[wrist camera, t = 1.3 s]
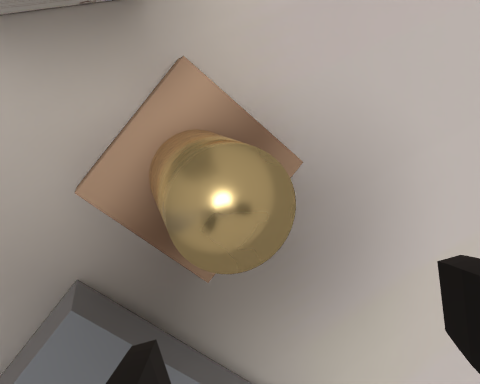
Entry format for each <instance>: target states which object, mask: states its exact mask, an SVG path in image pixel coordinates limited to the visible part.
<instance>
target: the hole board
mask: <svg viewBox="0 0 480 384" xmlns="http://www.w3.org/2000/svg"><path fill="white" fill-rule="evenodd" d="M155 339H156V340H157V343H158V346H159V349H160V352H161V355H162V358H163V361H164V364H165V367H166V369H167V372H168V375H169V378H170V381H171V384H251V383H250V382H248V381H246V380H245V379H243V378H241V377H240V376H238V375H236V374H235V373H233V372H231V371H230V370H228V369H226V368H225V367H223V366H221V365H219V364H218V363H216V362H214V361H213V360H211V359H209V358H208V357H206V356H204V355H203V354H201V353H199V352H198V351H196V350H194V349H193V348H191V347H189V346H188V345H186V344H184V343H182V342H181V341H179V340H177V339H176V338H174V337H172V336H171V335H169V334H167V333H166V332H164V331H162V330H161V329H159V328H157V327H156V326H154V325H152V324H151V323H149V322H147V321H146V320H144V319H142V318H140V317H139V316H137V315H135V314H134V313H132V312H130V311H129V310H127V309H125V308H124V307H122V306H120V305H119V304H117V303H115V302H114V301H112V300H110V299H109V298H107V297H105V296H104V295H102V294H100V293H98V292H97V291H95V290H93V289H92V288H90V287H88V286H87V285H85V284H83V283H82V282H80V281H78V280H76V282H75V283H74V284H73V286H72V287H71V288H70V289H69V291H68V292H67V293H66V294H65V296H64V297H63V298H62V299H61V301H60V302H59V303H58V304H57V306H56V307H55V308H54V310H53V311H52V312H51V313H50V315H49V316H48V317H47V318H46V320H45V321H44V322H43V323H42V325H41V326H40V327H39V329H38V330H37V331H36V332H35V334H34V335H33V336H32V337H31V339H30V340H29V341H28V342H27V344H26V345H25V346H24V347H23V349H22V350H21V351H20V353H19V354H18V355H17V356H16V358H15V359H14V360H13V361H12V363H11V364H10V365H9V366H8V368H7V369H6V370H5V372H4V373H3V374H2V375H1V377H0V384H106V382H107V381H108V380H109V378H110V377H111V375H112V374H113V372H114V371H115V369H116V368H117V366H118V365H119V363H120V362H121V360H122V359H123V357H124V356H125V355H126V353H127V352H128V350H129V349H130V348H131V346H134V345H137V344H141V343H145V342H148V341H152V340H155Z"/></svg>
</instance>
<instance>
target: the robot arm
mask: <svg viewBox="0 0 480 384" xmlns="http://www.w3.org/2000/svg"><path fill="white" fill-rule="evenodd" d="M437 262H438V270H439V279H440V287H441V296H442V305H443V313H444V322H445V331H446V332H447V334H448V335H449V336H450V338H451V339H452V340H453V342H454V343H455V344H456V346H457V347H458V349H459V350H460V351H461V352H462V354H463V355H464V356H465V358H466V359H467V360H468V361H469V363H470V364H471V365H472V366H473V367H474V368H475V369H476V370H477V371H478V373H479V374H480V259H479V258H474V257H469V256H464V255H459V256H455V257H452V258H448V259H444V260H441V261H437ZM106 384H171V381H170V378H169V375H168V372H167V369H166V367H165V364H164V361H163V358H162V355H161V352H160V349H159V346H158V343H157V340H156V339H155V340H152V341H148V342H145V343H141V344H137V345H134V346H131V348H130V349H129V350H128V352H127V353H126V355H125V356H124V357H123V359H122V360H121V362H120V363H119V365H118V366H117V368H116V369H115V371H114V372H113V374H112V375H111V377H110V378H109V380H108V381H107V382H106Z"/></svg>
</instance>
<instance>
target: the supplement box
mask: <svg viewBox="0 0 480 384" xmlns="http://www.w3.org/2000/svg"><path fill="white" fill-rule="evenodd" d="M102 1H110V0H0V15H1V14H9V13H16V12H24V11H32V10H40V9H47V8H55V7H63V6H71V5H78V4H86V3H94V2H102Z"/></svg>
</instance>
